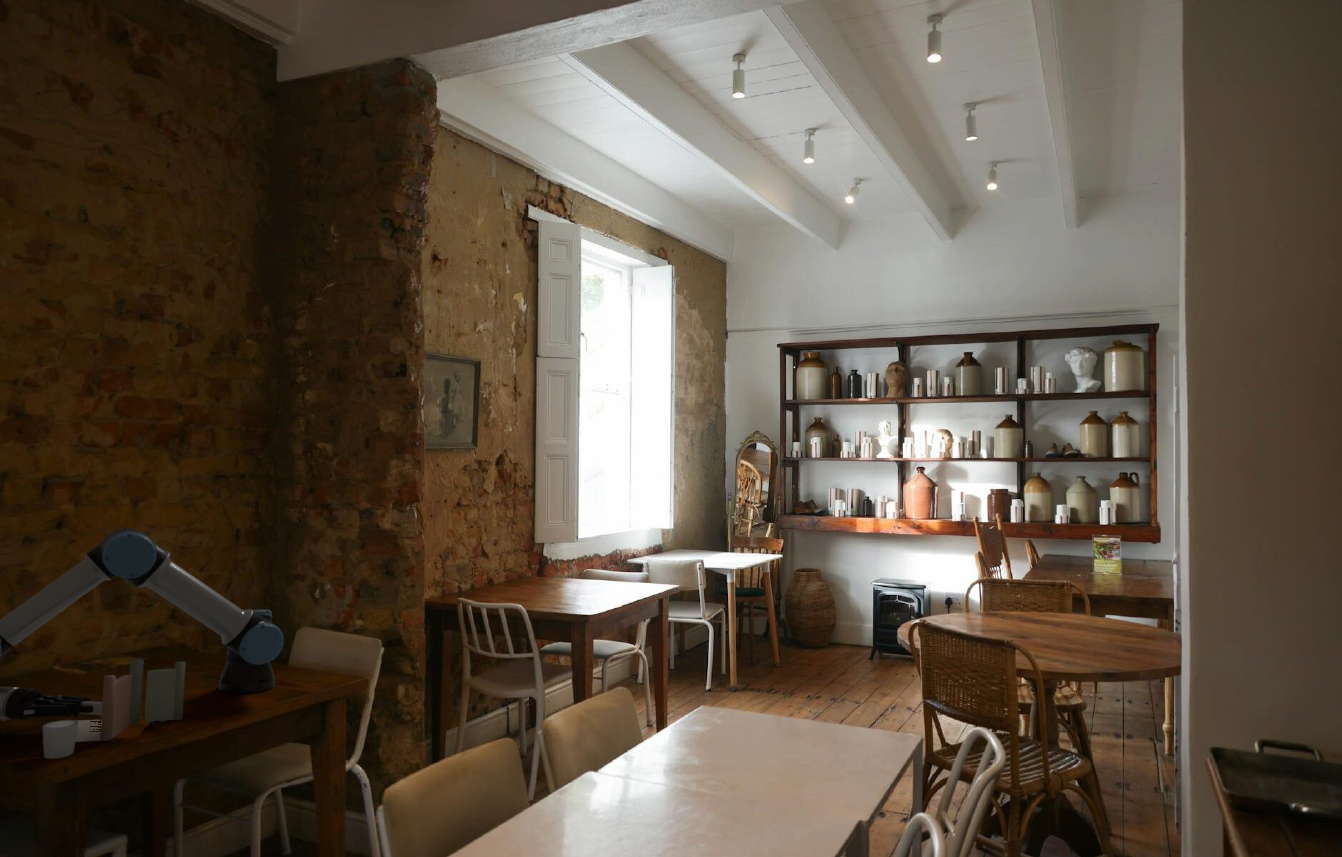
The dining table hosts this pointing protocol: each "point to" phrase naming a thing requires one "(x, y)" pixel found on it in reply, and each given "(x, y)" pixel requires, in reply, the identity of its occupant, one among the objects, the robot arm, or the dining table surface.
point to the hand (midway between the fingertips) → (108, 709)
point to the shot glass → (59, 738)
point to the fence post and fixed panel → (157, 693)
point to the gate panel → (115, 705)
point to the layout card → (87, 731)
